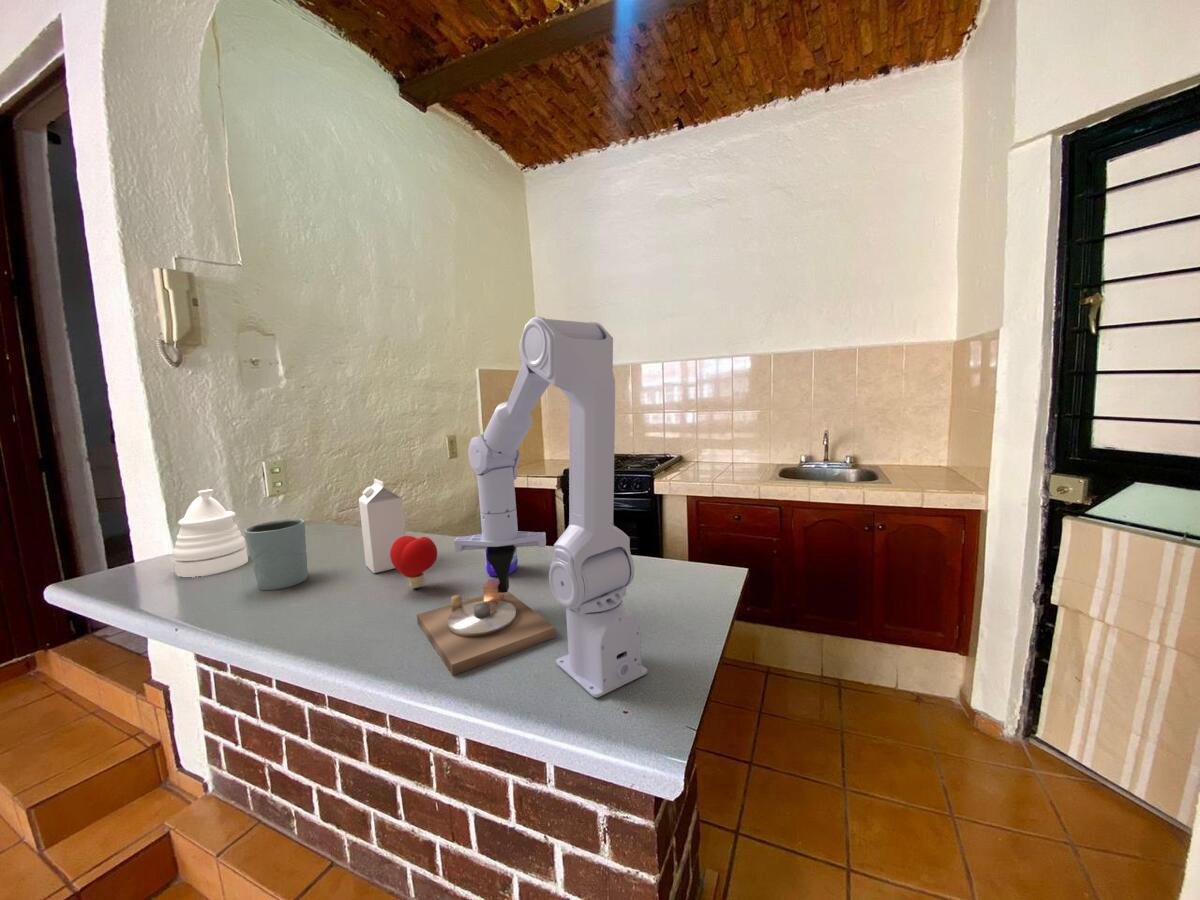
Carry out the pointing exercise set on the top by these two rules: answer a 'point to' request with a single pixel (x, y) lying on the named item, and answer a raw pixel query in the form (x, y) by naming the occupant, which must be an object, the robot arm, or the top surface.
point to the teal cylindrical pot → (278, 553)
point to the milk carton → (380, 525)
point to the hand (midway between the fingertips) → (504, 590)
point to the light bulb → (413, 558)
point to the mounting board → (482, 649)
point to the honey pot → (208, 539)
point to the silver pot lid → (496, 621)
